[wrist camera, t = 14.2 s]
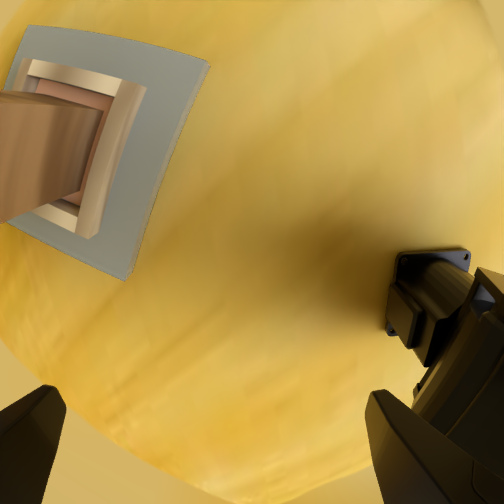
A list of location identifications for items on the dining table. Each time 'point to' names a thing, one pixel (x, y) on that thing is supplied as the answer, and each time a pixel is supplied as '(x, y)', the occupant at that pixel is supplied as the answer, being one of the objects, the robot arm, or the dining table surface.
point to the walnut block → (42, 149)
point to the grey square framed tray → (108, 136)
